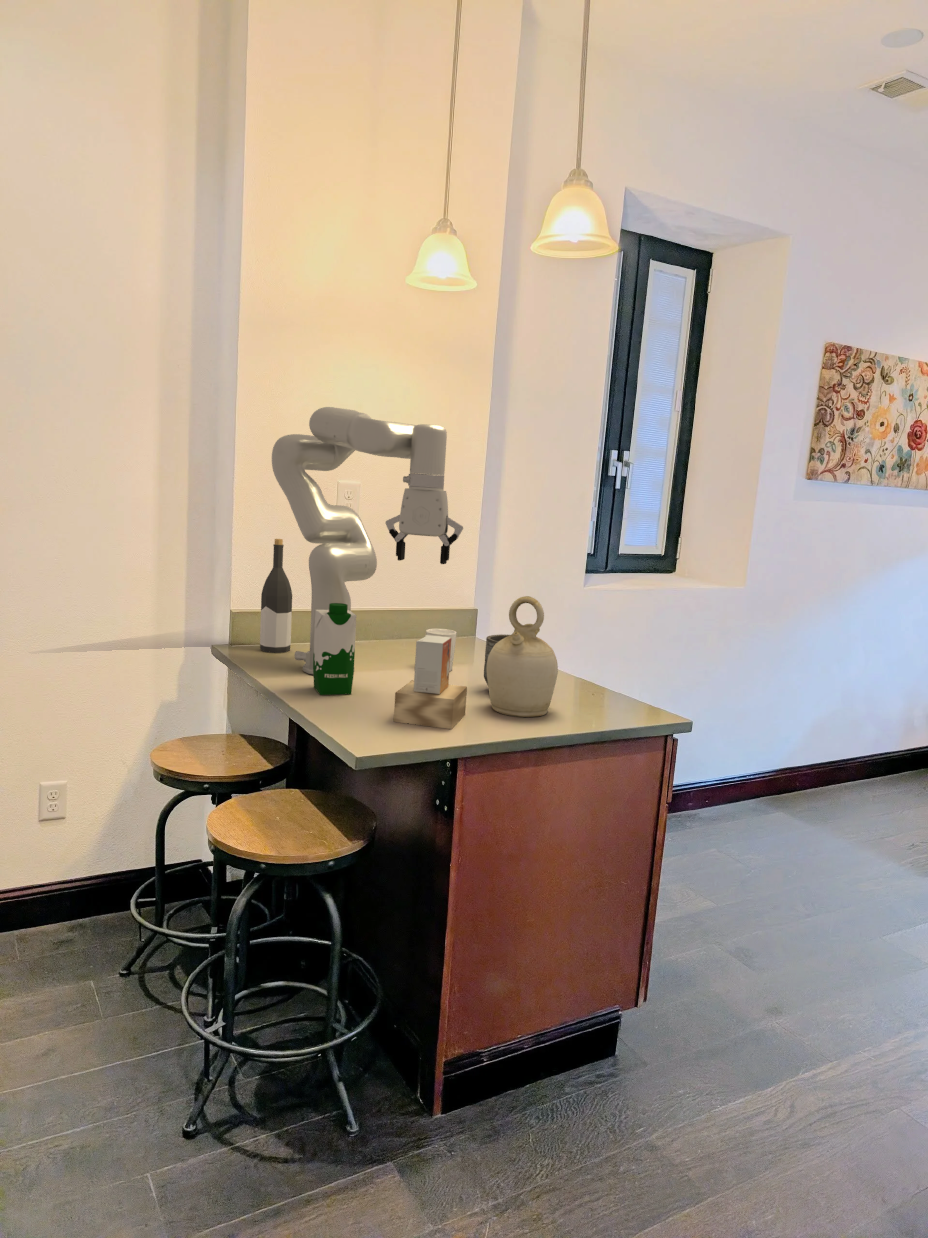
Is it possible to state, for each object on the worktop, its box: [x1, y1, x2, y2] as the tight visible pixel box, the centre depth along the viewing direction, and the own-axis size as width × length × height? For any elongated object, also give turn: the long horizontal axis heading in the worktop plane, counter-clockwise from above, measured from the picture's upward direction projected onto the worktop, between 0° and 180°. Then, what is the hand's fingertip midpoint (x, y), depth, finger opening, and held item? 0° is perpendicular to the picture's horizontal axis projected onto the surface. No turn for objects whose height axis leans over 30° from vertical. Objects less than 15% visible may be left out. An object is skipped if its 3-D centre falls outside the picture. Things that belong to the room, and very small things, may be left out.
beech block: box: [393, 679, 468, 730], centre depth 180 cm, size 12×12×6 cm
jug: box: [486, 595, 559, 718], centre depth 190 cm, size 15×16×25 cm
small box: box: [413, 634, 451, 694], centre depth 179 cm, size 8×6×10 cm
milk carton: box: [312, 603, 357, 696], centre depth 196 cm, size 9×9×20 cm
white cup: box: [425, 628, 457, 672], centre depth 227 cm, size 8×8×10 cm
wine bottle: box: [259, 538, 293, 654], centre depth 236 cm, size 8×8×30 cm
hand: (422, 561), depth 193 cm, fingers open, 9 cm apart
